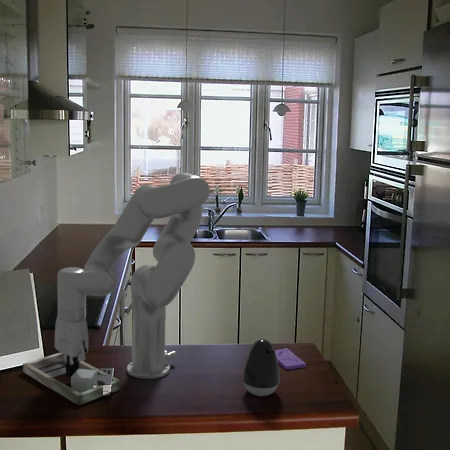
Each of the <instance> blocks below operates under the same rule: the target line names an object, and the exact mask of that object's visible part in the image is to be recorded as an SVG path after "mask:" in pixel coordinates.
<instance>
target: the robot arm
mask: <svg viewBox="0 0 450 450" xmlns="http://www.w3.org/2000/svg"><path fill="white" fill-rule="evenodd" d="M210 190H211V189H210V185H209V183H208V182H207V180H206V179H204V178H203V177H201V176H198V175H194V174H191V173H187V172H179V173H177V174H175V175H173V176H172V178H171V180H170V182H169V184H166V185H161V186H156V185H153V184H143V185H140V186H139V187H137V189H136V190H135V191H134V192H133V194H132V195H131V197H130V199H129V201H128V203H126V205H125V207H124V209H123V211H121V214H120V216H119V217H118V219H117V220H116V221H115V224H114V226H113V227H112V228H111V230H110V231H108V233H107V234H106V235H105V236H104V237H103V238H102V239H101V240H100V241H99V242H98V244H97V246H95V248H94V249H93V251H92V253H91V255H90V256H89V258H88V259H87V260H86V263H85V264H84V267H83V268H81V267H77V266H76V267H75V266H73V267H64V268H61V269H60V270H59V271H57V272H58V273H57V278H56V279H57V280H56V281H57V316H56V320H55V326H54V348H55V349H56V351H58V352H59V353H61V352H62V353H63V354H64V360H65V362H66V366H65V367H66V374H65V377H67V378H68V379H71V377H72V375H73V374H74V373H75V372H76V371H77V370H78V369H79V362H80V361H83V362H85V361H86V354H88V351H89V332H88V323H87V319H86V318H87V296H92V297H93V296H95V297H104V296H105V297H106V296H108V295H110V294H111V293H113V292H114V291H115V289H116V287H117V278H116V276H115V274H114V273H113V272H112V269H113V267H114V266H115V264H116V263H117V261H118V260H119V258H120V257H121V256H122V255H123V254H124V253H125V252H127V251H128V250H130V249H132V248H135V247H136V246H138V245H139V244H140V243H141V241H142V239H144V236H145V234H146V233H147V232H148V230H149V228H150V226H151V225H152V223H153V221H154V220H156V219H157V220H158V219H159V220H160V219H164V218H167V217H170V218H169V219H168V221H167V223H166V224H165V226H164V228H163V230H162V232H161V233H160V235H159V236H158V238H157V240H156V241H155V243H154V246H153V248H152V254H153V255H152V256H153V257H154V259H155V261H156V262H157V263H156V265H152V264H145V265H144V264H142V265H141V266H140V267H138V268H136V270H135V271H134V272H133V274H132V276H131V279H130V293H131V301H132V302H131V303H132V329H131V330H132V340H131V341H132V343H131V344H132V346H131V347H132V350H131V354H132V355H131V357H132V358H131V360H132V361H131V362H130V363H128V364H127V366H126V372H127V375H129V376H131V377H133V378H136V379H140V380H141V379H142V380H153V379H160V378H162V377H165V376H166V375H168V374H169V372H171V371H170V370H171V366H170V363H168V362H169V361H170V360H172V359H175V358H176V357H177V354H178V353H177V352H176V351H175V350H173V351H171V352H168V351H167V350H166V316H167V314H166V313H167V311H166V306H167V307H168V305H169V304H171V303H172V302H173V300H174V299H175V298H176V296H177V295H178V294H179V292H180V290H181V288H182V286H183V285H184V283H185V281H186V280H187V278H188V277H189V275H190V273H191V271H192V269H193V268H194V265H195V261H196V251H195V247H194V246H193V245H192V243H191V242H192V240H193V239H194V236H195V234H196V232H197V230H198V228H199V227H200V224H201V222H202V215H203V207H202V206H203V205H204V204H205V203H206V202H207V201H208V199H209V197H210V193H211V191H210Z"/></svg>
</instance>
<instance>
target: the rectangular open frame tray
mask: <svg viewBox="0 0 450 450" xmlns="http://www.w3.org/2000/svg"><path fill="white" fill-rule="evenodd" d="M79 369H88V370H97V373H99V374H103V375H106V374H107V375H110V374H109V373H107V372H105V371H103V370H100V369H99V368H97V367H95V366H93V365H91V364H89V363H87V362H85V361H80V362H79ZM22 373H24V374H25V375H27V376H29V377H31V378H32V379H34V380H36V381H37V382H39V383H40V384H42V385H44V386H45V387H47V388H49V389H51V390H52V391H54V392H55V393H58V395H60V396H62V397H64V398H65V399H68V400H69V401H71V402H73V403H74V404H76V405H78V406H82V405H83V404H86V403H88V402H92V401H94V400H97V399H99V398H101V397H104V396H103V387H98V386H97V387H96V388H93V389H90V390H88V391H85V392H82V393H79V392H77V391H75V390H73V389H72V388H71V386H69V385H67V384H65V383H63V382H61V381H60V380H58V379H56V378H57V377H60V376H62V375H66V362H65V360H64V354H63V353H62V352H58V353H54V354H52V355H48V356H45V357H41V358H38V359H35V360H30V361H28V362H25V363H22ZM111 376H112V386H111V393H110V394H112V393H114V392H117V391H120V390H121V389H122V388H121V387H122V383H121V381H122V380H121V379H119V378H116V376H115V377H114V376H113V375H111Z"/></svg>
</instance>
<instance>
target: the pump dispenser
mask: <svg viewBox="0 0 450 450" xmlns="http://www.w3.org/2000/svg"><path fill="white" fill-rule="evenodd" d="M275 350H276V349H275V348H274V346H273V344H272V343H271V342H270V341H269V340H268V339H265V338H260V339H257V340H256V341H255V342H254V343H253V344H252V346H251V347H250V349H249V351H248V354H247V356H246V359H245V363H244V367H243V371H242V381H243V384H244V387H245V389H246V391H247V392H249V393H250V394H251V395H253V396H256V397H268V396H270V395H271V394H273V393H274V392H275V391H276V390H277V389H278V386H279V384H280V383H281V382H280V380H281V375H280V366H279V365H280V364H278V360H277V356H276V353H275Z"/></svg>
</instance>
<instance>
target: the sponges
mask: <svg viewBox="0 0 450 450" xmlns="http://www.w3.org/2000/svg"><path fill="white" fill-rule="evenodd" d="M274 350H275V353H276V356H277V360H278V363H279V364H278V365H280V366H281V367H282V366H283V367H282V369H284V368H285V369H284V370H286V369H287V370H286V371H289V369H290V370H296V369H301V368H306V367H307V365H306V362H305V361H304V360H302V359H301V358H300V357H298V356H297V355H296V354H294V352H292V351H291V350H290V349H289V348H287V347H286V348H280V349H274Z"/></svg>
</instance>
